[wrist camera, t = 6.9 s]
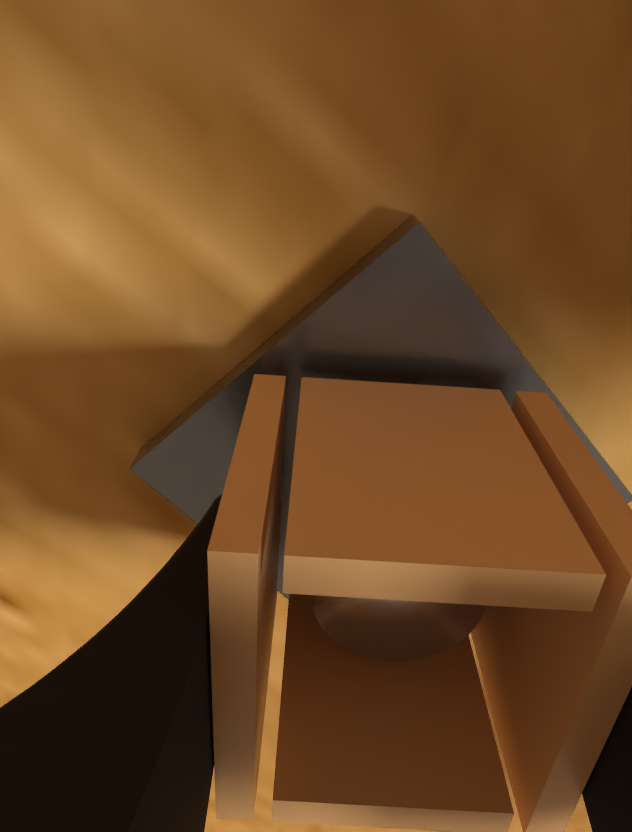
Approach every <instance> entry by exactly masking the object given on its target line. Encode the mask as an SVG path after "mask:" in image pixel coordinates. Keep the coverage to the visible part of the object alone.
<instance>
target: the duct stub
mask: <svg viewBox="0 0 632 832" xmlns="http://www.w3.org/2000/svg"><path fill="white" fill-rule="evenodd" d="M254 374H261V375H277V376H286V386H285V411H284V436H283V460H282V485H281V510H280V535H279V559H278V584H277V590H278V591H279V592H280V593H281V594H283V595H284V596H285V597H286V598H287V599H289V594H286V593H282V592H283V570H284V552H285V542H286V532H287V521H288V511H289V501H290V491H291V481H292V470H293V460H294V450H295V440H296V430H297V419H298V409H299V399H300V389H301V379H302V377H308V378H324V379H340V380H355V381H371V382H387V383H403V384H418V385H434V386H450V387H465V388H481V389H497V390H500V391H501V392H502V394H503V396H504V398H505V399H506V401H507V403H508V404H509V406H510V408H512V403H513V399H514V395H515V391H528V392H544V393H547V394H548V395H549V396H550V398H551V399H552V401H553V402H554V403H555V405H556V406H557V407H558V409H559V410H560V412H561V413H562V414H563V416H564V417H565V419H566V420H567V421H568V423H569V424H570V425H571V427H572V428H573V430H574V431H575V432H576V434H577V435H578V436H579V438H580V439H581V441H582V442H583V443H584V445H585V446H586V448H587V449H588V450H589V452H590V453H591V454H592V456H593V457H594V459H595V460H596V461H597V463H598V464H599V465H600V467H601V468H602V470H603V471H604V472H605V474H606V475H607V477H608V478H609V479H610V481H611V482H612V483H613V485H614V486H615V488H616V489H617V490H618V492H619V493H620V494H621V496H622V497H623V499H624V500H625V501H626V503H629V502H631V501H632V495H631V493H630V492H629V491H628V489H627V488H626V487H625V485H624V484H623V483H622V481H621V480H620V479H619V477H618V476H617V475H616V474H615V472H614V471H613V470H612V469H611V467H610V466H609V465H608V463H607V462H606V461H605V460H604V458H603V457H602V456H601V454H600V453H599V452H598V451H597V449H596V448H595V447H594V445H593V444H592V443H591V442H590V440H589V439H588V438H587V436H586V435H585V434H584V433H583V431H582V430H581V429H580V427H579V426H578V425H577V424H576V422H575V421H574V420H573V418H572V417H571V416H570V415H569V413H568V412H567V411H566V410H565V408H564V407H563V406H562V404H561V403H560V402H559V401H558V399H557V398H556V397H555V395H554V394H553V393H552V392H551V390H550V389H549V388H548V386H547V385H546V384H545V383H544V381H543V380H542V379H541V377H540V376H539V375H538V374H537V372H536V371H535V370H534V368H533V367H532V366H531V365H530V363H529V362H528V361H527V359H526V358H525V357H524V356H523V354H522V353H521V352H520V350H519V349H518V348H517V347H516V345H515V344H514V343H513V342H512V340H511V339H510V338H509V336H508V335H507V334H506V333H505V331H504V330H503V329H502V327H501V326H500V325H499V324H498V322H497V321H496V320H495V318H494V317H493V316H492V315H491V313H490V312H489V311H488V309H487V308H486V307H485V306H484V304H483V303H482V302H481V300H480V299H479V298H478V297H477V295H476V294H475V293H474V291H473V290H472V289H471V288H470V286H469V285H468V284H467V283H466V281H465V280H464V279H463V277H462V276H461V275H460V274H459V272H458V271H457V270H456V268H455V267H454V266H453V265H452V263H451V262H450V261H449V259H448V258H447V257H446V256H445V254H444V253H443V252H442V250H441V249H440V248H439V247H438V245H437V244H436V243H435V241H434V240H433V239H432V238H431V236H430V235H429V234H428V232H427V231H426V230H425V229H424V227H423V226H422V225H421V224H420V222H419V221H418V220H417V218H416V217H415V216H414V215H413V216H411V217H410V218H409V219H408V220H407V221H406V222H404V223H403V224H402V225H401V226H400V227H399V228H397V229H396V230H395V231H394V232H393V233H392V234H390V235H389V236H388V237H387V238H386V239H385V240H383V241H382V242H381V243H380V244H379V245H378V246H376V247H375V248H374V249H373V250H372V251H371V252H370V253H368V254H367V255H366V256H365V257H364V258H363V259H361V260H360V261H359V262H358V263H357V264H356V265H354V266H353V267H352V268H351V269H350V270H349V271H347V272H346V273H345V274H344V275H343V276H342V277H340V278H339V279H338V280H337V281H336V282H335V283H333V284H332V285H331V286H330V287H329V288H328V289H326V290H325V291H324V292H323V293H322V294H321V295H319V296H318V297H317V298H316V299H315V300H314V301H312V302H311V303H310V304H309V305H308V306H307V307H305V308H304V309H303V310H302V311H301V312H300V313H298V314H297V315H296V316H295V317H294V318H293V319H291V320H290V321H289V322H288V323H287V324H286V325H284V326H283V327H282V328H281V329H280V330H279V331H278V332H276V333H275V334H274V335H273V336H272V337H271V338H269V339H268V340H267V341H266V342H265V343H264V344H262V345H261V346H260V347H259V348H258V349H257V350H255V351H254V352H253V353H252V354H251V355H250V356H248V357H247V358H246V359H245V360H244V361H243V362H241V363H240V364H239V365H238V366H237V367H236V368H234V369H233V370H232V371H231V372H230V373H229V374H227V375H226V376H225V377H224V378H223V379H222V380H220V381H219V382H218V383H217V384H216V385H215V386H213V387H212V388H211V389H210V390H209V391H208V392H206V393H205V394H204V395H203V396H202V397H201V398H199V399H198V400H197V401H196V402H195V403H194V404H193V405H191V406H190V407H189V408H188V409H187V410H186V411H184V412H183V413H182V414H181V415H180V416H179V417H177V418H176V419H175V420H174V421H173V422H172V423H170V424H169V425H168V426H167V427H166V428H165V429H163V430H162V431H161V432H160V433H159V434H158V435H156V436H155V437H154V438H153V439H152V440H151V441H149V442H148V443H147V444H146V445H145V446H144V447H142V448H141V449H140V450H139V452H138V454H137V456H136V458H135V460H134V462H133V463H132V465H131V467H130V469H131V470H132V471H133V472H134V473H136V474H137V475H138V476H139V477H140V478H142V479H143V480H144V481H145V482H147V483H148V484H149V485H150V486H151V487H153V488H154V489H155V490H156V491H157V492H159V493H160V494H161V495H162V496H164V497H165V498H166V499H167V500H168V501H170V502H171V503H172V504H173V505H174V506H176V507H177V508H178V509H179V510H181V511H182V512H183V513H184V514H185V515H187V516H188V517H189V518H190V519H191V520H193V521H194V522H195V523H196V524H198V523H199V522H200V520H201V519H202V518H203V516H204V515H205V513H206V512H207V510H208V509H209V508H210V506H211V505H212V503H213V501H214V500H215V499H216V498H217V497H218V496H220V495H222V494H223V490H224V486H225V483H226V479H227V475H228V471H229V468H230V464H231V460H232V456H233V453H234V449H235V445H236V441H237V438H238V434H239V430H240V426H241V423H242V419H243V415H244V411H245V408H246V404H247V400H248V396H249V393H250V389H251V385H252V381H253V378H254ZM486 606H487V605H471V604H454V603H437V602H420V601H404V600H387V599H370V598H353V597H336V596H320V595H313V609H314V613H315V616H316V618H317V621H318V622H319V624H320V626H321V628H322V629H323V630H324V631H325V633H326V634H327V635H328V636H329V637H330V638H331V639H332V640H334V641H335V642H336V643H338V644H339V645H340V646H342V647H344V648H346V649H347V650H349V651H352V652H354V653H356V654H359V655H362V656H365V657H369V658H374V659H379V660H388V661H403V660H413V659H419V658H424V657H428V656H431V655H434V654H437V653H440V652H442V651H444V650H446V649H448V648H450V647H452V646H454V645H455V644H457V643H459V642H460V641H461V640H463V639H464V638H465V637H466V636H468V635H469V633H470V632H471V631H472V630H473V629H474V628H475V627H476V626H477V624H478V623H479V622H480V620H481V618H482V616H483V614H484V612H485V609H486Z"/></svg>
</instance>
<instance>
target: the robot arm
mask: <svg viewBox="0 0 632 832" xmlns="http://www.w3.org/2000/svg"><path fill="white" fill-rule="evenodd" d="M221 498H222V495H220V496H218V497H217V498H216V499H215V500H214V501H213V503H212V505H211V506H210V508H209V509H208V510H207V512H206V513H205V515H204V516H203V518H202V519H201V520H200V522H199V523H198V525H197V526H196V527H195V528H194V530H193V531H192V532H191V534H190V535H189V536H188V538H187V539H186V540H185V541H184V543H183V544H182V545H181V546H180V547H179V549H178V550H177V551H176V552H175V553H174V555H173V556H172V557H171V558H170V560H169V561H168V562H167V563H166V564H165V565H164V567H163V568H162V569H161V570H160V571H159V572H158V573H157V574H156V575H155V577H154V578H153V579H152V580H151V581H150V582H149V583H148V584H147V585H146V586H145V587H144V588H143V589H142V590H141V591H140V593H139V594H138V595H137V596H136V597H135V598H134V599H133V600H132V601H131V602H130V603H129V604H128V605H127V606H126V607H125V608H124V609H123V610H122V611H121V612H120V613H119V614H118V615H117V616H115V617H114V618H113V619H112V620H111V621H110V622H109V623H108V624H107V625H106V626H105V627H104V628H102V629H101V630H100V631H99V632H98V633H97V634H96V635H95V636H94V637H92V638H91V639H90V640H89V641H88V642H87V643H85V644H84V645H83V646H82V647H80V648H79V649H78V650H77V651H76V652H74V653H73V654H72V655H71V656H69V657H68V658H67V659H66V660H65V661H63V662H62V663H61V664H60V665H58V666H57V667H56V668H55V669H53V670H52V671H51V672H50V673H48V674H47V675H46V676H44V677H43V678H42V679H40V680H39V681H38V682H36V683H35V684H34V685H32V686H31V687H30V688H28V689H27V690H25V691H24V692H22V693H21V694H19V695H18V696H17V697H15V698H14V699H12V700H11V701H9V702H8V703H6V704H5V705H4V706H2V707H1V708H0V832H204V829H205V822H206V815H207V808H208V802H209V795H210V788H211V781H212V775H213V768H214V739H213V709H212V678H211V648H210V618H209V588H208V558H207V550H208V546H209V543H210V539H211V535H212V531H213V528H214V524H215V520H216V516H217V513H218V509H219V505H220V501H221ZM582 795H583V798H584V802H585V806H586V809H587V813H588V817H589V820H590V824H591V828H592V831H593V832H632V687H631V689H630V692H629V694H628V696H627V698H626V700H625V702H624V704H623V706H622V709H621V711H620V713H619V715H618V717H617V719H616V721H615V724H614V726H613V728H612V730H611V732H610V734H609V736H608V738H607V741H606V743H605V745H604V747H603V749H602V751H601V753H600V755H599V758H598V760H597V762H596V764H595V766H594V768H593V770H592V773H591V775H590V777H589V779H588V781H587V783H586V785H585V787H584V790H583V792H582Z"/></svg>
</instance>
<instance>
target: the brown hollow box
mask: <svg viewBox="0 0 632 832" xmlns="http://www.w3.org/2000/svg"><path fill="white" fill-rule="evenodd" d="M285 386H286V376H277V375H261V374H254V378H253V381H252V385H251V389H250V393H249V396H248V400H247V404H246V408H245V411H244V415H243V419H242V423H241V426H240V430H239V434H238V438H237V441H236V445H235V449H234V453H233V456H232V460H231V464H230V468H229V471H228V475H227V479H226V483H225V486H224V490H223V494H222V498H221V501H220V505H219V509H218V513H217V516H216V520H215V524H214V528H213V531H212V535H211V539H210V543H209V546H208V550H207V558H208V588H209V618H210V648H211V678H212V709H213V739H214V769H215V799H216V819H234V820H253V819H254V809H255V800H256V790H257V780H258V771H259V761H260V752H261V742H262V733H263V723H264V714H265V704H266V695H267V685H268V675H269V666H270V656H271V647H272V637H273V628H274V618H275V609H276V599H277V584H278V559H279V535H280V510H281V485H282V460H283V436H284V411H285ZM282 593H286V594H289V605H288V617H287V630H286V642H285V655H284V667H283V680H282V692H281V705H280V717H279V730H278V742H277V755H276V767H275V780H274V792H273V808H272V822H289V823H307V824H325V825H343V826H361V827H380V828H398V829H416V830H434V831H452V832H507V830H508V828H509V825H510V823H511V820H512V817H513V815H514V812H513V808H512V804H511V800H510V796H509V792H508V789H507V785H506V781H505V777H504V773H503V769H502V765H501V761H500V757H499V753H498V749H497V746H496V742H495V738H494V734H493V730H492V726H491V722H490V718H489V714H488V710H487V706H486V703H485V699H484V695H483V691H482V687H481V683H480V679H479V675H478V671H477V667H476V663H475V660H474V656H473V652H472V648H471V644H470V640H469V636H466V637H465V638H464V639H463V640H461V641H460V642H459V643H457V644H455V645H454V646H452V647H450V648H448V649H446V650H444V651H442V652H440V653H437V654H434V655H431V656H428V657H424V658H419V659H413V660H403V661H388V660H379V659H374V658H369V657H365V656H362V655H359V654H356V653H354V652H352V651H349V650H347V649H346V648H344V647H342V646H340V645H339V644H338V643H336V642H335V641H334V640H332V639H331V638H330V637H329V636H328V635H327V634H326V633H325V631H324V630H323V629H322V628H321V626H320V624H319V622H318V621H317V618H316V616H315V613H314V609H313V595H320V596H336V597H353V598H370V599H387V600H404V601H420V602H437V603H454V604H471V605H487V606H486V609H485V612H484V614H483V616H482V618H481V620H480V622H479V623H478V624H477V626H476V627H475V628H474V629H473V630H472V631H471V634H472V638H473V642H474V646H475V650H476V653H477V657H478V661H479V665H480V669H481V672H482V676H483V680H484V684H485V688H486V691H487V695H488V699H489V703H490V707H491V711H492V714H493V718H494V722H495V726H496V730H497V733H498V737H499V741H500V745H501V749H502V752H503V756H504V760H505V764H506V768H507V772H508V775H509V779H510V783H511V787H512V791H513V794H514V798H515V802H516V806H517V810H518V813H519V817H520V821H521V825H522V829H523V832H564V830H565V828H566V826H567V824H568V822H569V819H570V817H571V815H572V813H573V811H574V809H575V807H576V804H577V802H578V800H579V798H580V796H581V794H582V792H583V790H584V787H585V785H586V783H587V781H588V779H589V777H590V775H591V773H592V770H593V768H594V766H595V764H596V762H597V760H598V758H599V755H600V753H601V751H602V749H603V747H604V745H605V743H606V741H607V738H608V736H609V734H610V732H611V730H612V728H613V726H614V724H615V721H616V719H617V717H618V715H619V713H620V711H621V709H622V706H623V704H624V702H625V700H626V698H627V696H628V694H629V692H630V689H631V687H632V510H631V508H630V507H629V505H628V504H627V503H626V501H625V500H624V499H623V497H622V496H621V494H620V493H619V492H618V490H617V489H616V488H615V486H614V485H613V483H612V482H611V481H610V479H609V478H608V477H607V475H606V474H605V472H604V471H603V470H602V468H601V467H600V465H599V464H598V463H597V461H596V460H595V459H594V457H593V456H592V454H591V453H590V452H589V450H588V449H587V448H586V446H585V445H584V443H583V442H582V441H581V439H580V438H579V436H578V435H577V434H576V432H575V431H574V430H573V428H572V427H571V425H570V424H569V423H568V421H567V420H566V419H565V417H564V416H563V414H562V413H561V412H560V410H559V409H558V407H557V406H556V405H555V403H554V402H553V401H552V399H551V398H550V396H549V395H548V394H547V393H544V392H528V391H515V395H514V399H513V403H512V408H510V406H509V404H508V403H507V401H506V399H505V398H504V396H503V394H502V392H501V391H500V390H497V389H481V388H465V387H450V386H434V385H418V384H403V383H387V382H371V381H355V380H340V379H324V378H308V377H302V379H301V389H300V399H299V409H298V419H297V430H296V440H295V450H294V460H293V470H292V481H291V491H290V501H289V511H288V521H287V532H286V542H285V552H284V570H283V592H282Z"/></svg>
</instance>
